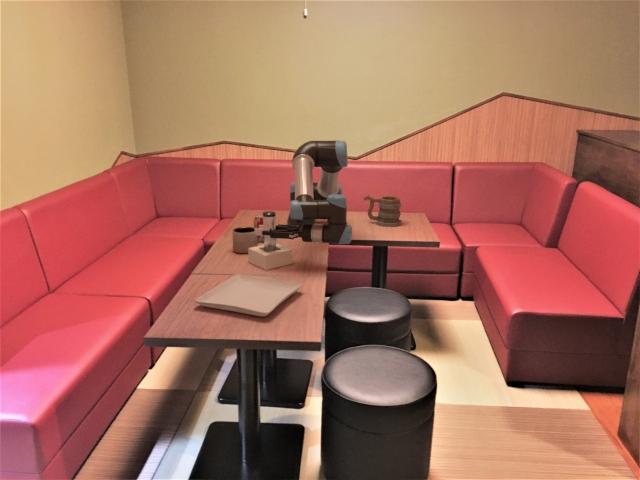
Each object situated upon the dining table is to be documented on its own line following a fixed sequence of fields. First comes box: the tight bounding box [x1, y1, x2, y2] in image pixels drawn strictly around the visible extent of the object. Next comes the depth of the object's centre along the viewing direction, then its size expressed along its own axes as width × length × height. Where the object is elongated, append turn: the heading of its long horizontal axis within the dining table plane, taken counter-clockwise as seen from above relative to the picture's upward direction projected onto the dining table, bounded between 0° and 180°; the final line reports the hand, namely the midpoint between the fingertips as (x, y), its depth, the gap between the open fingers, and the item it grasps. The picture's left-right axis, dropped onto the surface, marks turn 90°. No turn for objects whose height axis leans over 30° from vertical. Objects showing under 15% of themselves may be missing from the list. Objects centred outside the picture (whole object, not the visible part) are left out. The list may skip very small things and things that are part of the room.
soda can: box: [253, 214, 264, 243], centre depth 245 cm, size 7×7×12 cm
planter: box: [232, 226, 259, 255], centre depth 230 cm, size 11×11×10 cm
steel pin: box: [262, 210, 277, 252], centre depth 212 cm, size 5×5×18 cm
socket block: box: [247, 242, 294, 271], centre depth 214 cm, size 13×13×6 cm
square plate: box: [194, 273, 303, 317], centre depth 177 cm, size 27×27×4 cm
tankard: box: [363, 195, 402, 228], centre depth 277 cm, size 20×13×15 cm, turn 78°
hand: (257, 230), depth 213 cm, fingers closed on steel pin, 5 cm apart
